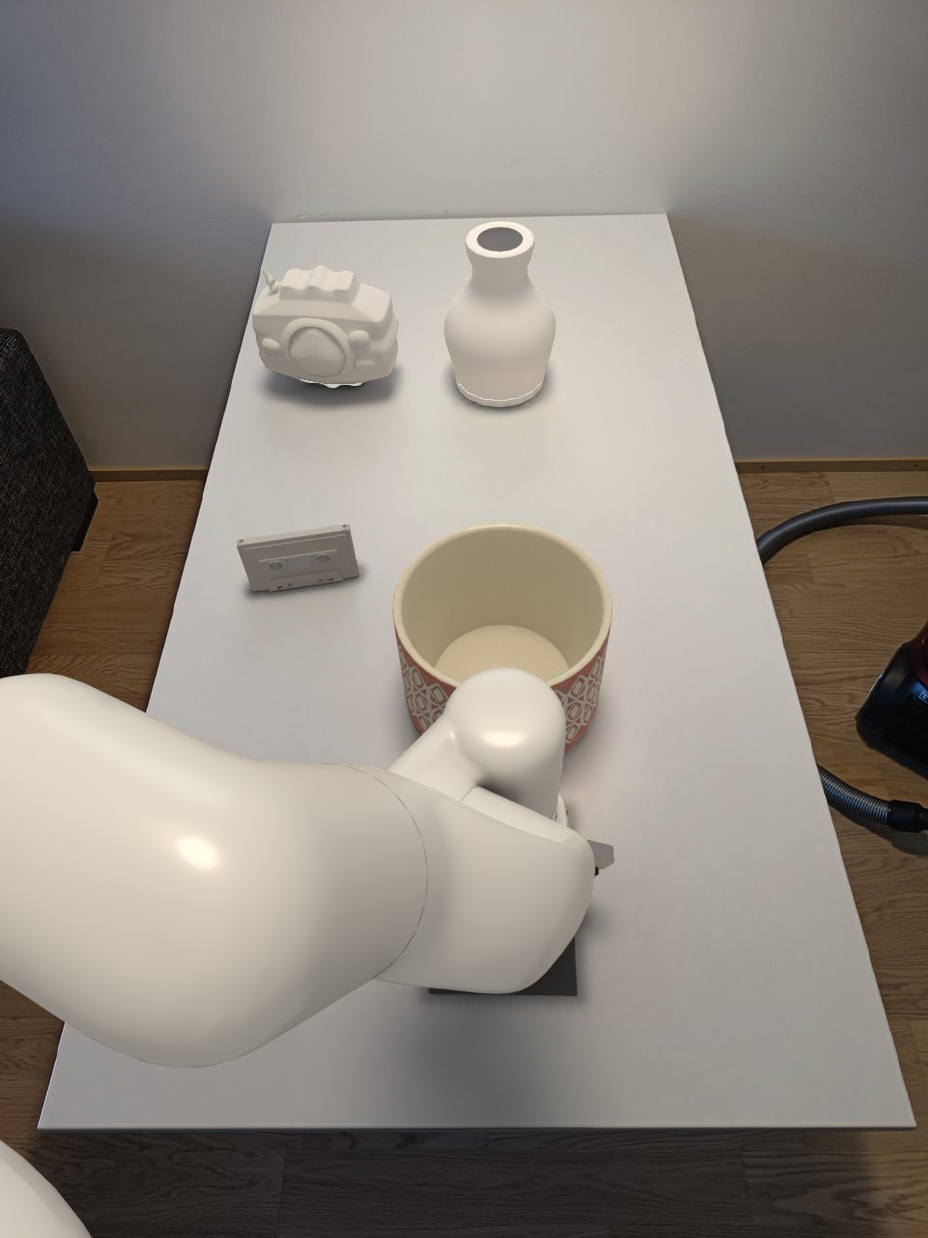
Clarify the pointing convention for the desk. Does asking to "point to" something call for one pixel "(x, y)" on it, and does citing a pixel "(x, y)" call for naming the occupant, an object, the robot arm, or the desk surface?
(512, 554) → the planter
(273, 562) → the cassette
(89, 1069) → the desk surface
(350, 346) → the camera
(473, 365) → the vase
